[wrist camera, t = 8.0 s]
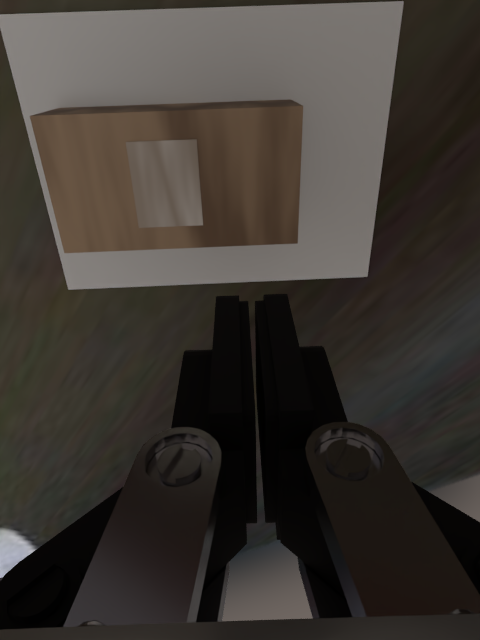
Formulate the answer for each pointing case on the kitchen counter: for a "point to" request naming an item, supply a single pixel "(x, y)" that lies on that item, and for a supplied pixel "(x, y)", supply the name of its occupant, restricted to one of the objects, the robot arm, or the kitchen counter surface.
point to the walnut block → (173, 174)
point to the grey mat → (227, 86)
